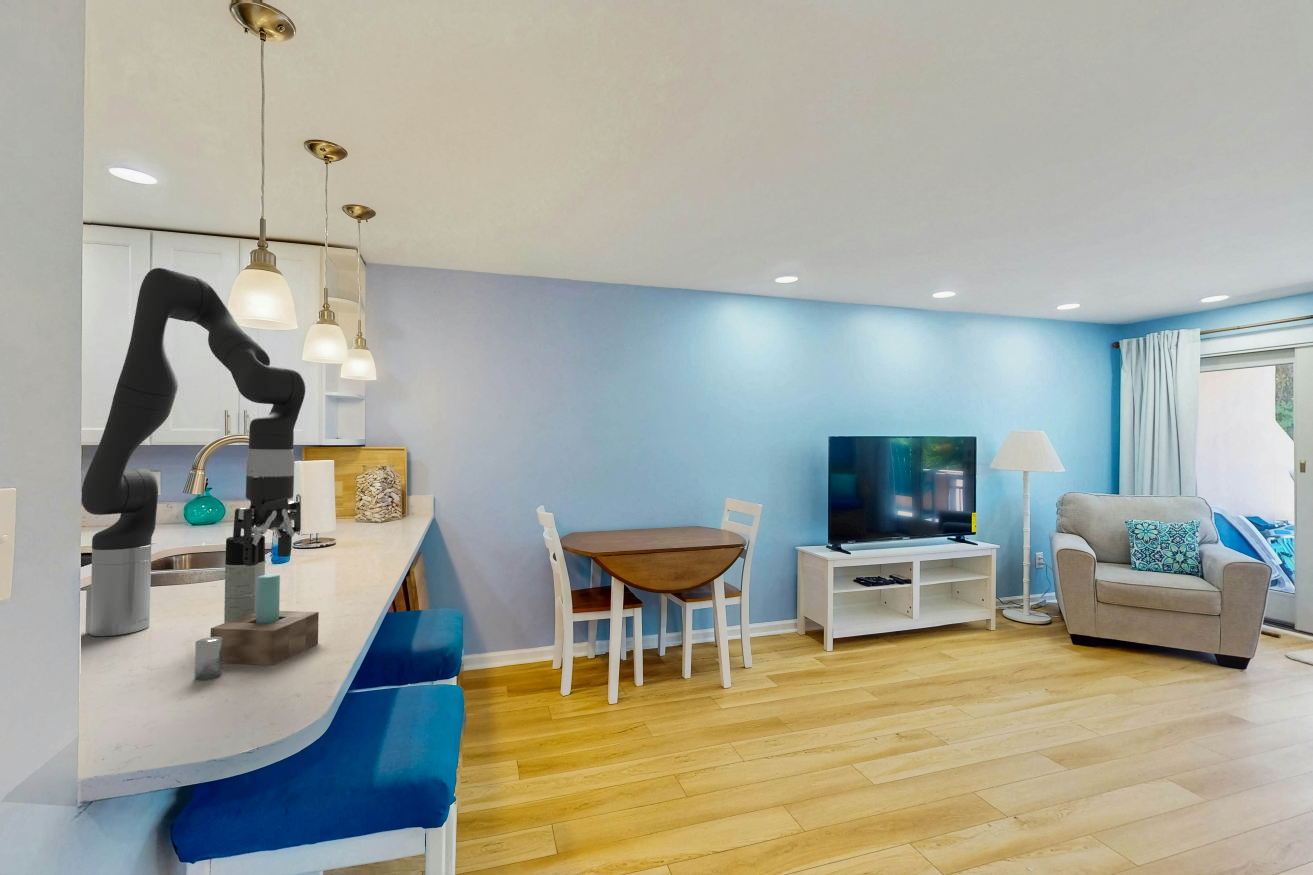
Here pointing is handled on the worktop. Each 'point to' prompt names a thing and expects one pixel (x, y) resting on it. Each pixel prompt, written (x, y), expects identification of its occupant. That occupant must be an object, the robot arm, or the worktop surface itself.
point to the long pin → (268, 599)
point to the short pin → (208, 658)
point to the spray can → (241, 580)
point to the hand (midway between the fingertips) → (267, 560)
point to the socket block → (267, 637)
